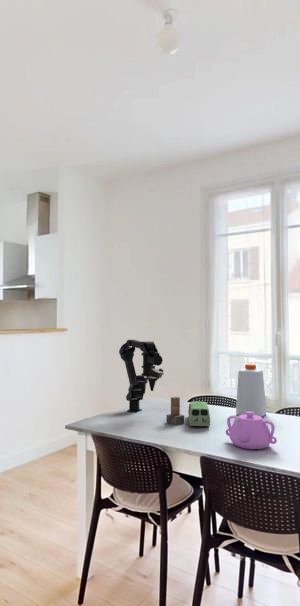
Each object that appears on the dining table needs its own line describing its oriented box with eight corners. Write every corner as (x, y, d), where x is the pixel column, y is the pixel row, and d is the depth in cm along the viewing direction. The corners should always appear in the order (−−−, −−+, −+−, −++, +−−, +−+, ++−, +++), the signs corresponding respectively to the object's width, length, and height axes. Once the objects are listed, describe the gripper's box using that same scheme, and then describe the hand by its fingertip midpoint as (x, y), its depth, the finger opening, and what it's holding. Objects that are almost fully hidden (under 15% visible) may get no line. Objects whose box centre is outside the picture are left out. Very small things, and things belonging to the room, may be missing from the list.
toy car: (207, 416, 207) (207, 398, 208) (211, 429, 182) (210, 408, 183) (188, 416, 208) (187, 398, 208) (189, 428, 183) (188, 408, 184)
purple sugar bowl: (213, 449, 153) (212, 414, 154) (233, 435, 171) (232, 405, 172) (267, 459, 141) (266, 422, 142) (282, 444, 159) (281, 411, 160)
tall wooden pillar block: (166, 422, 195) (166, 397, 195) (174, 420, 198) (174, 395, 199) (175, 425, 189) (175, 399, 190) (184, 423, 193) (184, 397, 194)
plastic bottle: (261, 418, 202) (261, 366, 204) (234, 415, 209) (233, 365, 211) (267, 413, 215) (266, 364, 217) (241, 410, 222) (240, 362, 224)
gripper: (152, 366, 198) (152, 396, 197) (168, 363, 214) (168, 390, 213) (134, 365, 203) (134, 394, 202) (151, 362, 219) (151, 389, 218)
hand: (148, 392), depth 209 cm, fingers open, 9 cm apart
